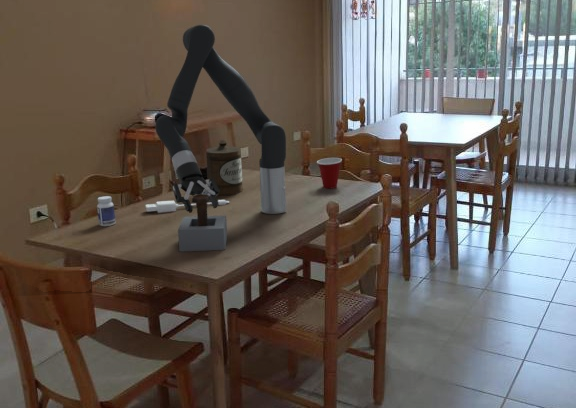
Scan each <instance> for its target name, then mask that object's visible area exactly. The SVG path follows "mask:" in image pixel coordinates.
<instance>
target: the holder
mask: <svg viewBox="0 0 576 408" xmlns="http://www.w3.org/2000/svg"><path fill="white" fill-rule="evenodd" d="M207 218H208V224H209V225H211V226H196V225H198V215H196V216H183V217H182V220H181V222H180V224H179V226H178V229H177V233H178V234H177V235H178V249H179V252H197V251H198V252H200V251H201V252H202V251H203V252H204V251H223V250H226V245H227V239H228V227H227V226H228V225H227V215H226V214H224V215H222V214H221V215H207Z"/></svg>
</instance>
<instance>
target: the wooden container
mask: <svg viewBox="0 0 576 408" xmlns="http://www.w3.org/2000/svg"><path fill="white" fill-rule="evenodd" d="M227 144H228V142H227V140H224V139H221V140H219V142H218V145H219V146H215V147H209V148H206V151H205V153H206V154H205V155H206V176H207V179H206V180H209V179H210V178H211V177H212V178H213V179H214V181H215V183H216V185H217V187H218V189H219V191H220V192H219V193H218V196H228V195H234V194H238V193H241V192H242V191H243V170H242V169H243V168H242V156H241V155H242V150H241V148H240V147H237V146H228V145H227ZM207 186H208V185H207ZM208 187H209V188H210V186H208ZM210 190H211V188H210Z"/></svg>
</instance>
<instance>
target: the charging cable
mask: <svg viewBox="0 0 576 408" xmlns="http://www.w3.org/2000/svg"><path fill="white" fill-rule="evenodd" d="M217 201H218V205H219V206H225V205H227V204H229V203H230V201H229V200H226V199H217ZM207 205H212V203H211V202H208V203H207ZM191 206H196V203H191ZM179 207H185V206H184V204H179V203H177V202H176V200H161V201H156V202H155V203H149V204H148V203H147V204H145V210H146V212H157V213H158V214H161V213H162V214H163V213H171V212H177V208H179Z"/></svg>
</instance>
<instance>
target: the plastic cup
mask: <svg viewBox="0 0 576 408" xmlns="http://www.w3.org/2000/svg"><path fill="white" fill-rule="evenodd" d="M342 161H343V159H342V158H339V157H327V158H321V159H319V160H317V161H316V164H317V165H318V167H319V173H320V177H321V181H322V186H323V188H325V189H335V188H337V187H338V180H339V176H340V169H341V164H342Z"/></svg>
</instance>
